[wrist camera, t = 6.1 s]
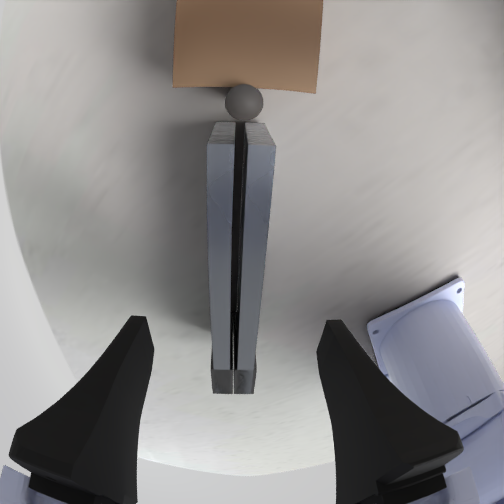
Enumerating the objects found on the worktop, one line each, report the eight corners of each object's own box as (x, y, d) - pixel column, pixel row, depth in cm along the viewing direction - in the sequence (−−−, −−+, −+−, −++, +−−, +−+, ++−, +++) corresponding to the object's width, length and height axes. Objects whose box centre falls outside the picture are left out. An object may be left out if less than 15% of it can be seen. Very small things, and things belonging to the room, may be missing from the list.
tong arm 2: (241, 122, 12) (243, 144, 8) (267, 123, 12) (281, 146, 8) (233, 338, 19) (233, 393, 16) (250, 338, 19) (253, 393, 16)
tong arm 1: (212, 121, 12) (201, 143, 8) (239, 122, 12) (239, 144, 8) (215, 338, 19) (212, 393, 16) (232, 338, 19) (232, 393, 16)
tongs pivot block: (199, -6, 9) (177, -47, 5) (296, -2, 9) (329, -38, 5) (193, 102, 12) (169, 120, 7) (288, 106, 12) (316, 126, 8)
